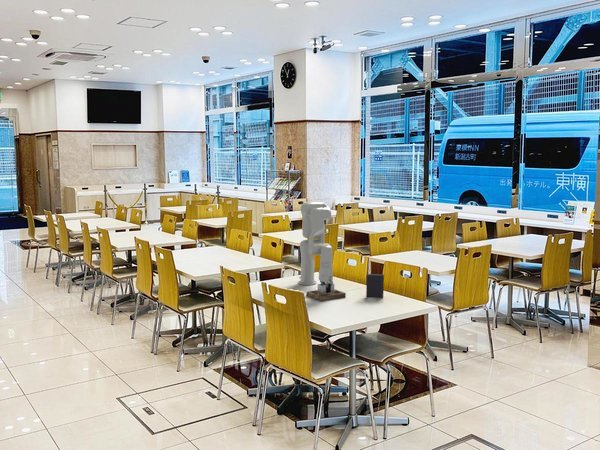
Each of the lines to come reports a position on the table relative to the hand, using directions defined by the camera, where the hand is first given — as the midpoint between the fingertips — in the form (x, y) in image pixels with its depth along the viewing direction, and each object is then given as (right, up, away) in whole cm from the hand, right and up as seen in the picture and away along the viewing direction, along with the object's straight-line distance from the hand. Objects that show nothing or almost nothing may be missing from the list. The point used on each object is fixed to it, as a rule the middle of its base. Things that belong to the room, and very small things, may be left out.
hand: (325, 291), depth 379 cm
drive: (0, -1, 0) cm, 1 cm away
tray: (0, -3, 0) cm, 3 cm away
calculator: (+32, -4, 0) cm, 32 cm away
